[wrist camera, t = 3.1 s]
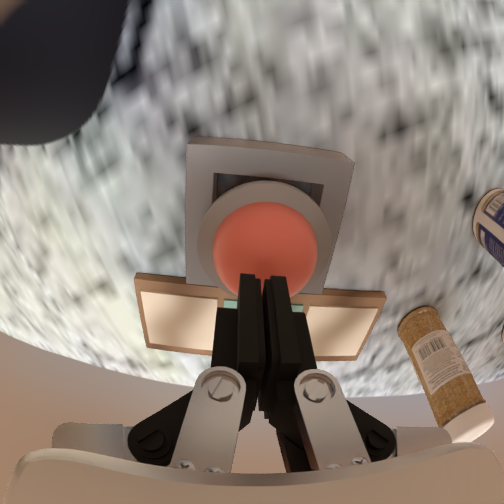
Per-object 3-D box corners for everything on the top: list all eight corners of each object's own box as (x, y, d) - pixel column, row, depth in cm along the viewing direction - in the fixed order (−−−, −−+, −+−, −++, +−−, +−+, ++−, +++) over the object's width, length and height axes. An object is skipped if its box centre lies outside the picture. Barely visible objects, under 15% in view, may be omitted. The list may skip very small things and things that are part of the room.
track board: (383, 292, 23) (387, 299, 22) (354, 354, 27) (356, 361, 26) (136, 272, 22) (132, 280, 21) (148, 341, 26) (146, 349, 25)
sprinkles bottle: (397, 343, 27) (439, 458, 15) (396, 314, 24) (451, 442, 13) (435, 328, 26) (486, 435, 14) (438, 297, 24) (503, 413, 12)
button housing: (341, 152, 17) (354, 163, 15) (314, 272, 22) (321, 294, 20) (195, 136, 17) (186, 143, 15) (192, 261, 21) (186, 283, 19)
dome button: (330, 176, 16) (363, 219, 11) (308, 276, 19) (323, 339, 15) (207, 163, 15) (186, 200, 11) (203, 267, 19) (189, 330, 14)
